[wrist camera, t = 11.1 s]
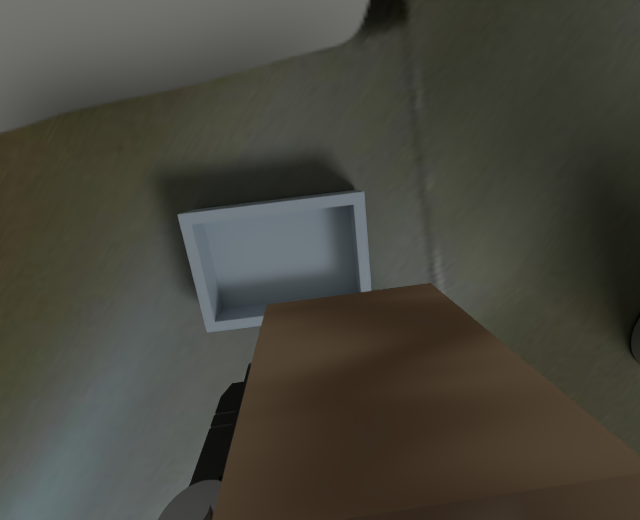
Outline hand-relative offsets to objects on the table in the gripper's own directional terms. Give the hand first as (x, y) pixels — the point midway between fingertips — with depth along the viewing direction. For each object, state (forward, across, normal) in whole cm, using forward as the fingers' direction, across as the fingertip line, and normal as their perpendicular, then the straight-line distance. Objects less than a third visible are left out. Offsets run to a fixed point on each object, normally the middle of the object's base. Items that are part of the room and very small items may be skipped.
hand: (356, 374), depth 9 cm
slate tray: (+16, +3, 0) cm, 17 cm away
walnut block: (0, 0, 0) cm, 0 cm away
